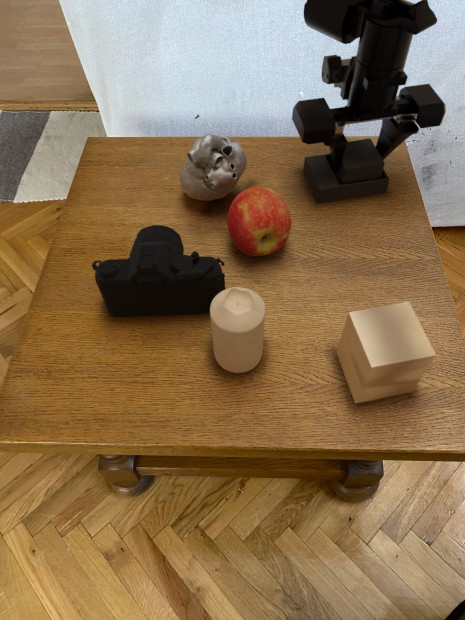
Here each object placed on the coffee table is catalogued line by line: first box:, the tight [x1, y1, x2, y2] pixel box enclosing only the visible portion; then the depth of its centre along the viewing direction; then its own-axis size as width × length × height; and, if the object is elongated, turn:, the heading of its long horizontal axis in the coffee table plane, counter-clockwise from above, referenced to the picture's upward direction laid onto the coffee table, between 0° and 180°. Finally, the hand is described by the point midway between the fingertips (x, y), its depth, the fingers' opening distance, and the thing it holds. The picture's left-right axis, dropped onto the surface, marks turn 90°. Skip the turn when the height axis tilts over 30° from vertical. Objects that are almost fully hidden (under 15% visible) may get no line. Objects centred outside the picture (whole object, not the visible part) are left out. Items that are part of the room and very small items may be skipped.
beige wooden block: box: [335, 300, 437, 404], centre depth 50 cm, size 6×6×8 cm
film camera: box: [91, 224, 226, 317], centre depth 57 cm, size 15×10×9 cm, turn 91°
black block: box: [331, 138, 386, 184], centre depth 69 cm, size 6×6×2 cm
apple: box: [226, 186, 293, 257], centre depth 61 cm, size 8×8×8 cm
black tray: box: [302, 153, 390, 204], centre depth 70 cm, size 10×7×2 cm
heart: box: [179, 133, 248, 202], centre depth 66 cm, size 10×10×12 cm
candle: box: [209, 286, 266, 374], centre depth 51 cm, size 6×6×10 cm
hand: (355, 166), depth 69 cm, fingers closed on black block, 5 cm apart
